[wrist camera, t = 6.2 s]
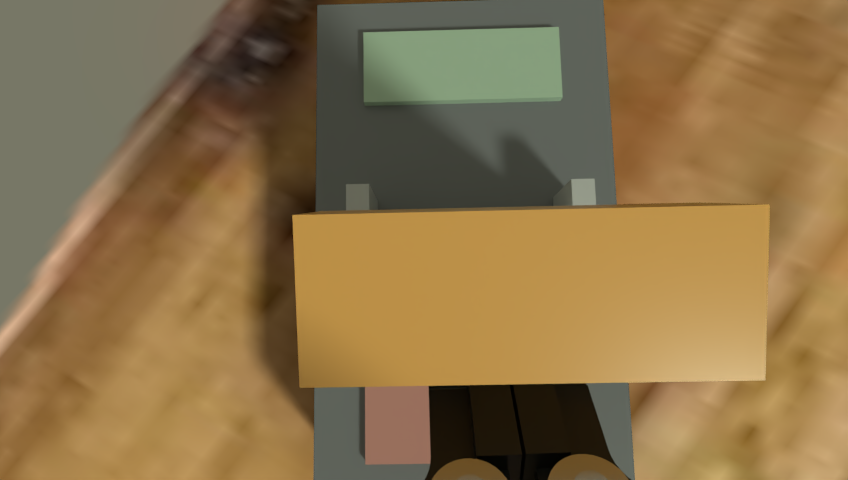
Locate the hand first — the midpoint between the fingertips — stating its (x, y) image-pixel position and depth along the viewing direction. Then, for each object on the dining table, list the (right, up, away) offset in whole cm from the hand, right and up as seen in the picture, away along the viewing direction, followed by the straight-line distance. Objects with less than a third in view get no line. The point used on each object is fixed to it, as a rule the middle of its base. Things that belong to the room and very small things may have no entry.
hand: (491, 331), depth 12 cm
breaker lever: (0, +2, +9) cm, 9 cm away
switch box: (0, +1, +16) cm, 16 cm away
